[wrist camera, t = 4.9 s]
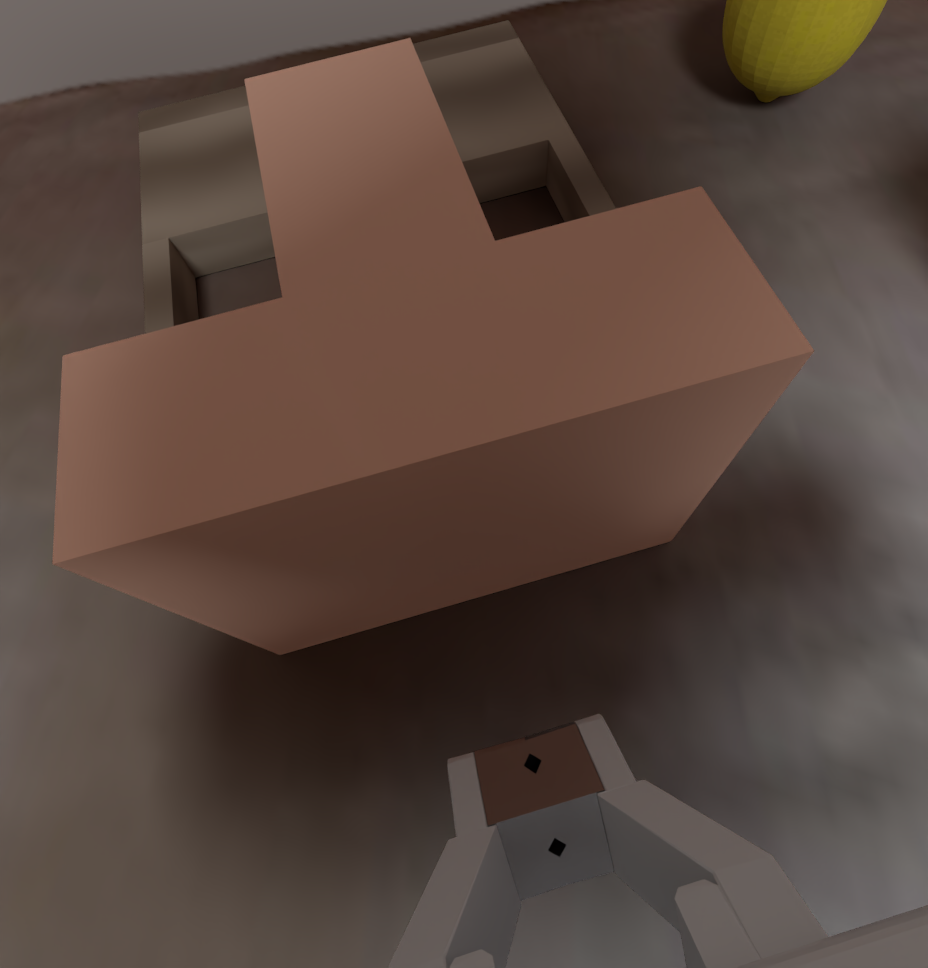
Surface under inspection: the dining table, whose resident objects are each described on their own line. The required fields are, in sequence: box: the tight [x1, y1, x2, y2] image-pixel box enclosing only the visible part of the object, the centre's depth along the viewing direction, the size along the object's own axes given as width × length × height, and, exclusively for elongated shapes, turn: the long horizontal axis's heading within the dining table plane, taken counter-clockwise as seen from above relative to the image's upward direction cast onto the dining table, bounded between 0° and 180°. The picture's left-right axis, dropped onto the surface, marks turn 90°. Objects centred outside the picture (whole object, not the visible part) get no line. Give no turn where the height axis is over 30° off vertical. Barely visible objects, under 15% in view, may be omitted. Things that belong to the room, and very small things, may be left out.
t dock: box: [138, 20, 616, 334], centre depth 23 cm, size 15×17×2 cm
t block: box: [53, 38, 814, 655], centre depth 15 cm, size 11×12×9 cm
